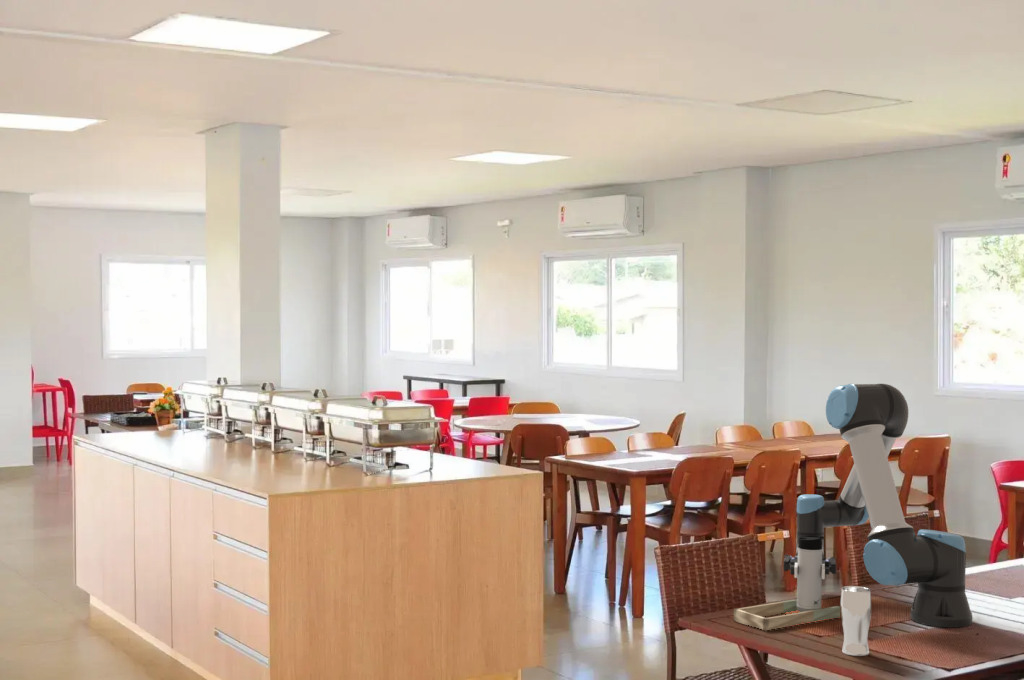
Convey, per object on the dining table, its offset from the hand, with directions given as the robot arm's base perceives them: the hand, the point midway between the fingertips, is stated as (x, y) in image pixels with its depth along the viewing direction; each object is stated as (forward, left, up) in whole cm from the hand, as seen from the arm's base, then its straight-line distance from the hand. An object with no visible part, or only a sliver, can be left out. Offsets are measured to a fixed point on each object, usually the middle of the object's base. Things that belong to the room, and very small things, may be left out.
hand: (809, 573), depth 302 cm
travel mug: (+4, -4, -11) cm, 12 cm away
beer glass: (-27, +12, -12) cm, 33 cm away
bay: (+4, +4, -12) cm, 14 cm away
